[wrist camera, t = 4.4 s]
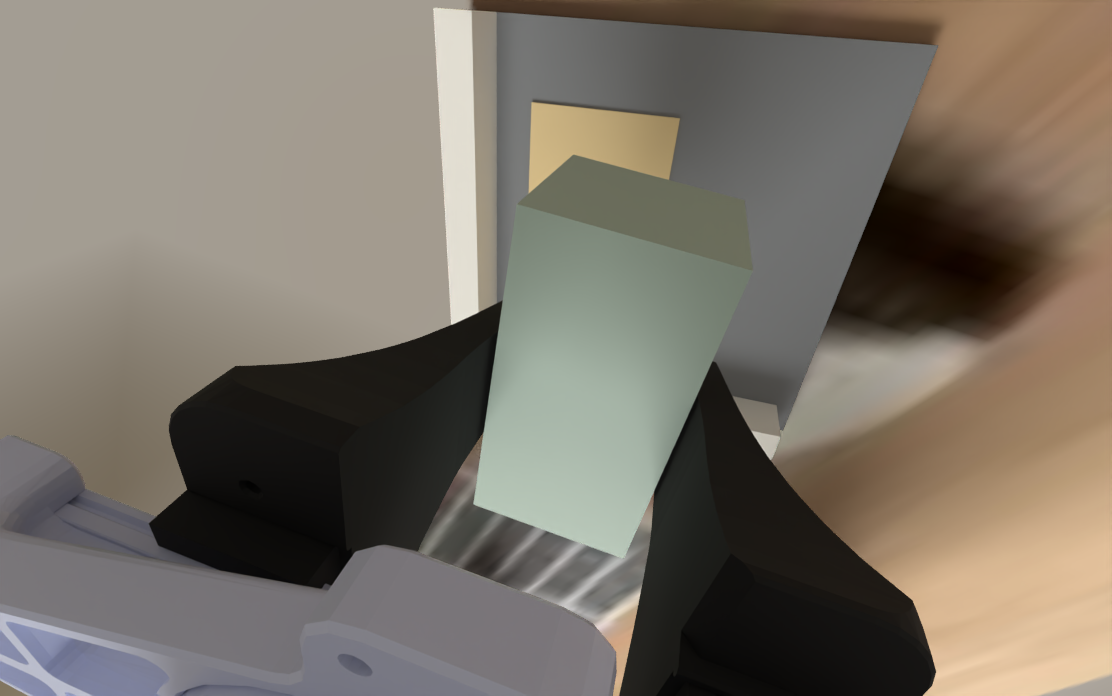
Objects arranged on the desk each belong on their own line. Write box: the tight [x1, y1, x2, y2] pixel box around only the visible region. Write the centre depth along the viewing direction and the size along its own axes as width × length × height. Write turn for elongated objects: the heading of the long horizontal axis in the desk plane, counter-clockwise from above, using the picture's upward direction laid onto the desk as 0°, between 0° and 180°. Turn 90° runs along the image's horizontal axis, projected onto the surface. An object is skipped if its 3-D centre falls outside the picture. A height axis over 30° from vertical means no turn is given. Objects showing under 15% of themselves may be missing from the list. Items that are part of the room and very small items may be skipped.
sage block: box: [474, 155, 753, 559], centre depth 12 cm, size 4×8×4 cm, turn 169°
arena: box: [433, 8, 938, 460], centre depth 19 cm, size 14×14×2 cm
